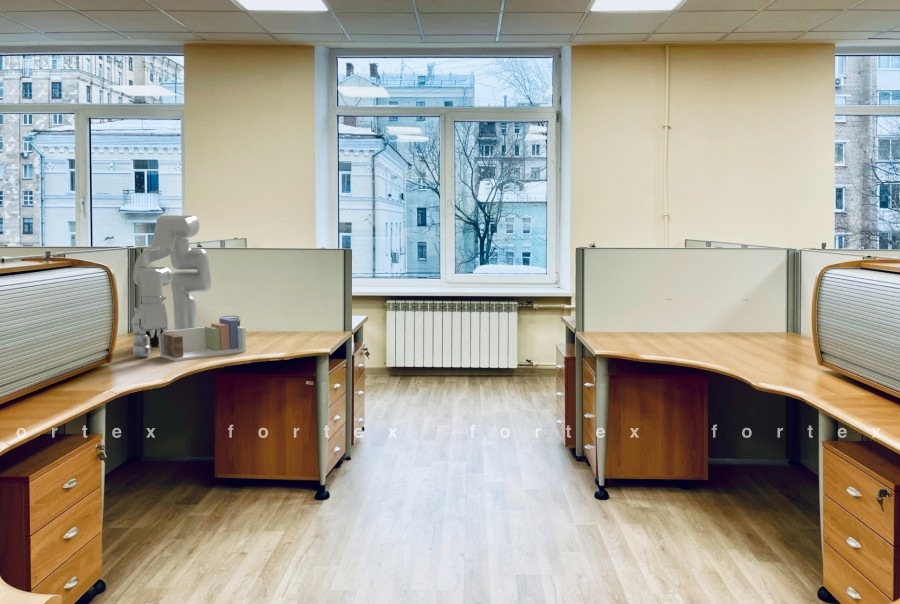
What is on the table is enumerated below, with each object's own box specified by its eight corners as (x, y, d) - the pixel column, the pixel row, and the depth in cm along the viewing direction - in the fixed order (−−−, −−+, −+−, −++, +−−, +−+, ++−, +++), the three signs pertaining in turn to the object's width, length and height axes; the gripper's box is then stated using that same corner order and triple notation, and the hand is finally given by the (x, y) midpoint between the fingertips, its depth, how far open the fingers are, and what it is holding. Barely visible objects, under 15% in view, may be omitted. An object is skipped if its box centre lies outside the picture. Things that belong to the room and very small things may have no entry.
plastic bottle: (144, 355, 290) (141, 306, 288) (154, 356, 286) (151, 307, 284) (129, 357, 285) (126, 308, 283) (139, 359, 281) (136, 309, 279)
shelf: (159, 356, 288) (158, 324, 286) (229, 347, 308) (227, 317, 307) (175, 361, 277) (173, 328, 275) (245, 351, 298) (244, 320, 296)
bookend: (164, 353, 287) (163, 333, 286) (171, 352, 289) (170, 333, 288) (175, 357, 279) (174, 337, 278) (183, 356, 281) (182, 336, 280)
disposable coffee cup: (235, 345, 312) (234, 318, 311) (215, 344, 314) (214, 318, 312) (245, 341, 321) (245, 315, 320) (226, 341, 323) (225, 315, 322)
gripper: (167, 298, 284) (169, 343, 286) (128, 301, 274) (131, 348, 276) (175, 299, 278) (177, 345, 281) (136, 302, 268) (138, 350, 270)
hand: (154, 347), depth 278 cm, fingers closed
